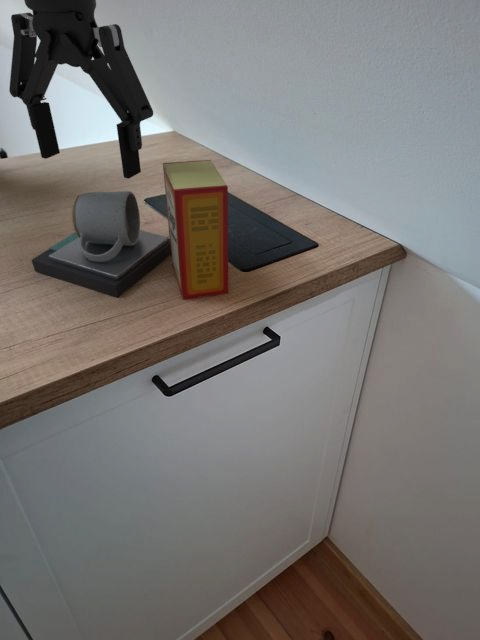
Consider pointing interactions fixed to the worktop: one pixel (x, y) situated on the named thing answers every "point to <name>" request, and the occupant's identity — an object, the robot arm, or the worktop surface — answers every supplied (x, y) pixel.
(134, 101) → the robot arm
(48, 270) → the scale
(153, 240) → the scale pan
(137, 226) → the ceramic mug
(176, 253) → the baking soda box
